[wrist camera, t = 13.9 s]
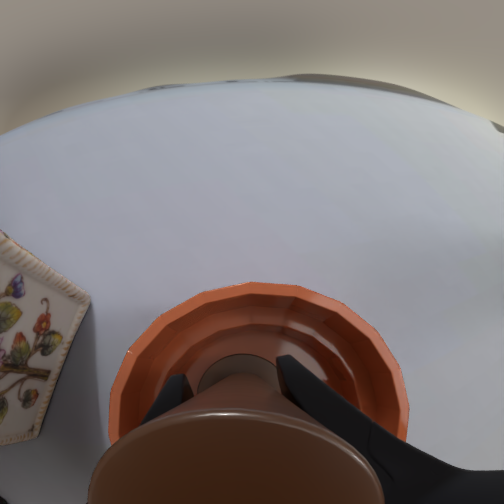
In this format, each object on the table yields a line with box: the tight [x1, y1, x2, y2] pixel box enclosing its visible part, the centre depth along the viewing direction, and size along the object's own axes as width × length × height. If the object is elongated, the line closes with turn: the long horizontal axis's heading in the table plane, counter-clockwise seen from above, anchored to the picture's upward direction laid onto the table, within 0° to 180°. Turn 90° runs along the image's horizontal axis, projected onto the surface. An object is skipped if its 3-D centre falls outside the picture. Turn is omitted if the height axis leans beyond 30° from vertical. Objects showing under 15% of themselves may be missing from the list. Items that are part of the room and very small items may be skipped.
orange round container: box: [108, 282, 409, 446], centre depth 12 cm, size 12×12×6 cm
